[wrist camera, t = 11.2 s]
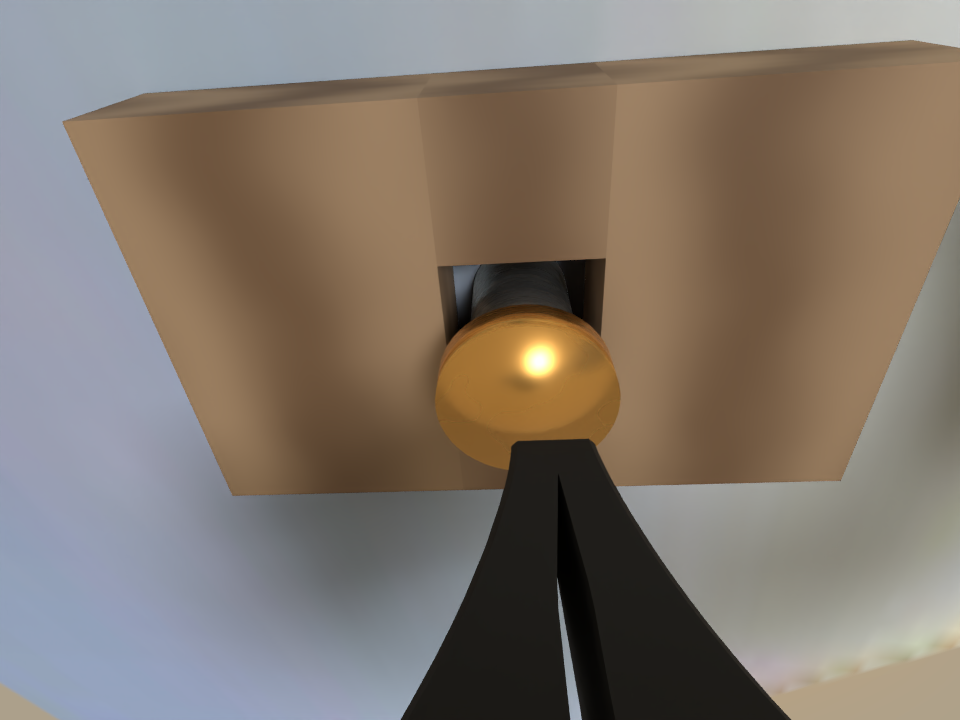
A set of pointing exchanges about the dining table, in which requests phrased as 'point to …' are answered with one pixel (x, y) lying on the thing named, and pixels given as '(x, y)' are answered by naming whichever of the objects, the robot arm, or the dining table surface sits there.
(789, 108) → the hitch block
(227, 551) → the dining table surface
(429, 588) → the dining table surface
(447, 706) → the robot arm
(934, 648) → the dining table surface
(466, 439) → the pin
